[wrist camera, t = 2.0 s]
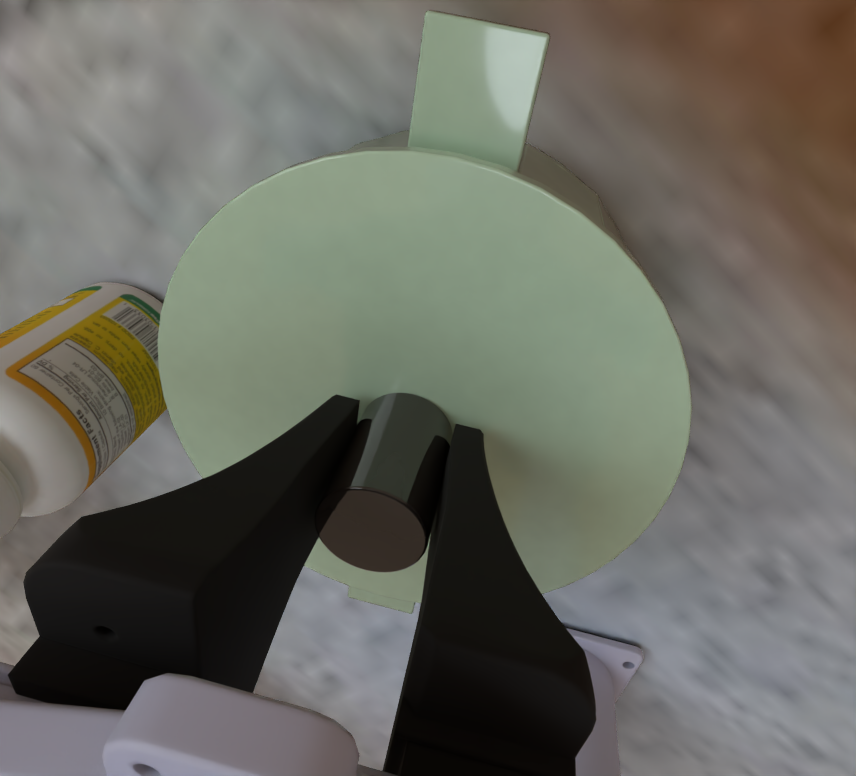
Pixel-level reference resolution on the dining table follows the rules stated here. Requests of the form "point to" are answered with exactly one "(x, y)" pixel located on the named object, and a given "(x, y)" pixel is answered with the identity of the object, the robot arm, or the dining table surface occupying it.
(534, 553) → the lid
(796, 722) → the dining table surface
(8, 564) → the dining table surface
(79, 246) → the dining table surface
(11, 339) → the supplement bottle
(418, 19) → the dining table surface
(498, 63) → the pot
